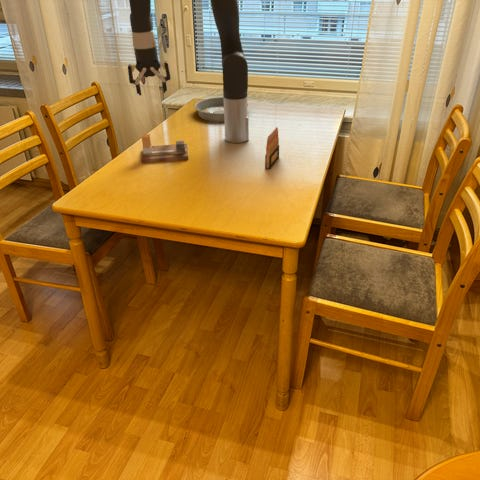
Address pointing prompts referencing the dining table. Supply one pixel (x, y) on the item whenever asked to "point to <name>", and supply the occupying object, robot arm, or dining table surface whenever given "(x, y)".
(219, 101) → the cake pan
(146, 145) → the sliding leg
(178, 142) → the brown slider base
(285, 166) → the dining table surface
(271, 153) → the ammunition clip
